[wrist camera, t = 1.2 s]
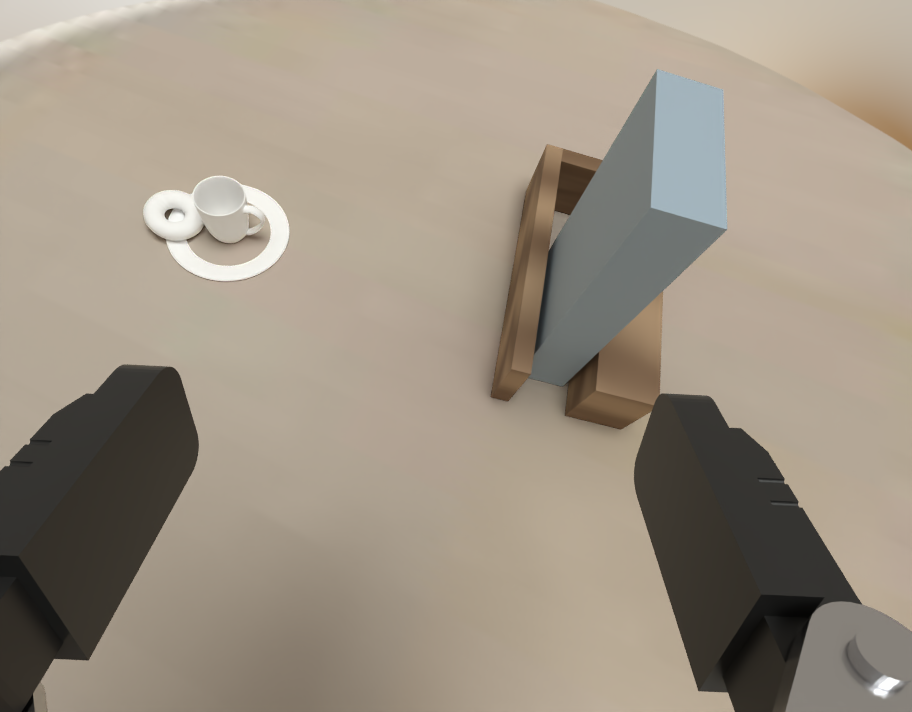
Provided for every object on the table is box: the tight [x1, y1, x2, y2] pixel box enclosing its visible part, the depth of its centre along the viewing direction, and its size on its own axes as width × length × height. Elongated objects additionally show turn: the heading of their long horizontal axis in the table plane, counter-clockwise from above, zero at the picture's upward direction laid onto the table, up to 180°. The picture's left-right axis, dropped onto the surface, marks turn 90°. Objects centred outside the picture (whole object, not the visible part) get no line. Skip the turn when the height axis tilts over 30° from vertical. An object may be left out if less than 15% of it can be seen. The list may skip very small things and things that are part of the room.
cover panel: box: [528, 69, 727, 387], centre depth 31 cm, size 8×3×18 cm, turn 169°
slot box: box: [491, 144, 663, 429], centre depth 38 cm, size 18×9×5 cm, turn 169°
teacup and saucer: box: [143, 176, 289, 281], centre depth 36 cm, size 9×8×4 cm
